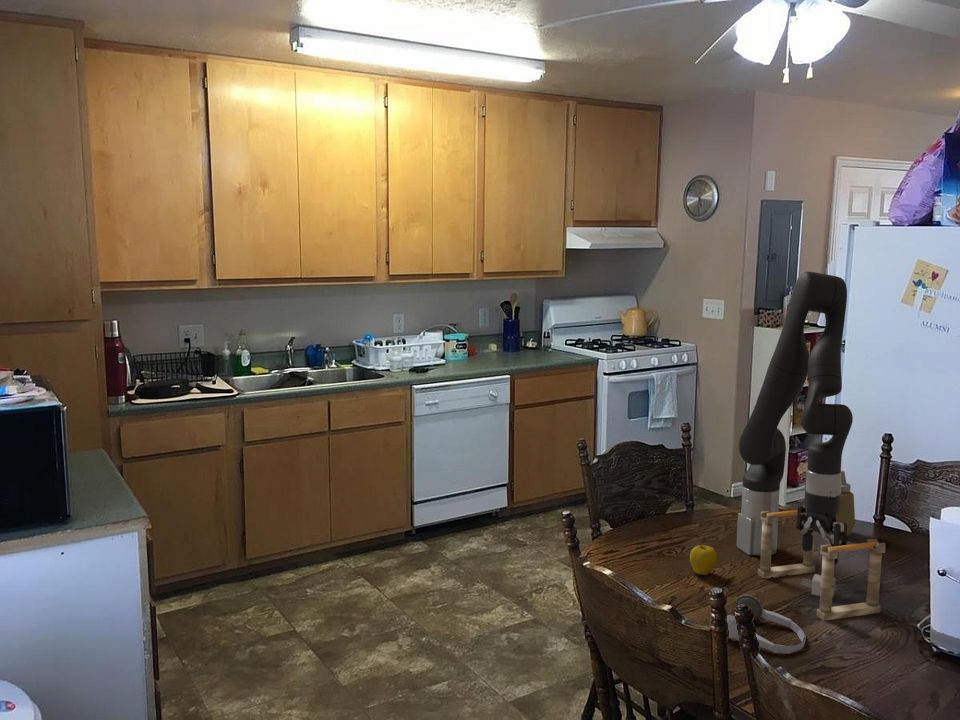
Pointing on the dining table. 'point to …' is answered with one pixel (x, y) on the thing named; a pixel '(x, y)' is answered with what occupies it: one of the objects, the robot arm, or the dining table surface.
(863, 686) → the dining table surface
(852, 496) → the squeeze bottle
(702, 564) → the apple
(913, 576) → the dining table surface
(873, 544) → the orange rod
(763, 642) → the headphones
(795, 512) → the orange wooden rod
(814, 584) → the usb wall charger
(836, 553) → the wooden parallette bars
